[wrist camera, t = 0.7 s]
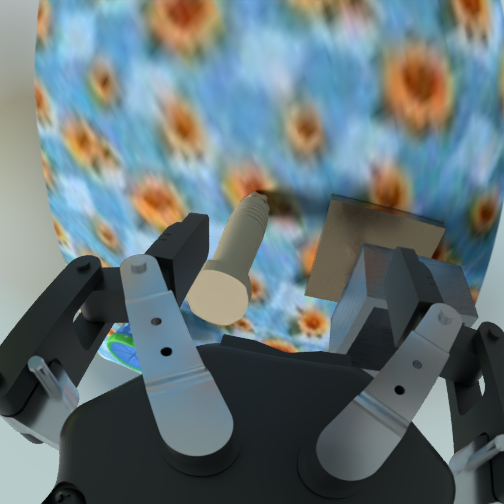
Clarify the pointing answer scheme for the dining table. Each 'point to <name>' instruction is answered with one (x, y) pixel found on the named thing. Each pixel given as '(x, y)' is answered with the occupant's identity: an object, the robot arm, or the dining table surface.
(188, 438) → the robot arm
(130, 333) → the snack cup
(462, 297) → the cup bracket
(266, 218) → the handle
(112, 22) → the dining table surface
